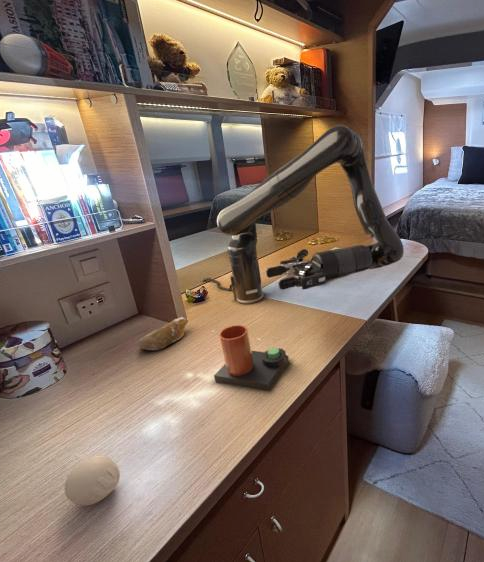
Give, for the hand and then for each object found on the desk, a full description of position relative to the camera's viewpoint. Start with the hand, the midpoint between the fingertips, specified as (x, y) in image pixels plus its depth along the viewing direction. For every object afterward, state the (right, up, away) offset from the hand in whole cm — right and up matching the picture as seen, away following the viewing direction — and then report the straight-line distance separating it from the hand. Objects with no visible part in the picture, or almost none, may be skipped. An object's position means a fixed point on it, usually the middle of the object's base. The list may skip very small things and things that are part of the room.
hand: (272, 279), depth 78 cm
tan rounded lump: (-23, -36, -23) cm, 48 cm away
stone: (-35, -18, +19) cm, 44 cm away
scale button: (-1, -19, +5) cm, 20 cm away
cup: (-8, -21, +3) cm, 23 cm away
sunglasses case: (+2, 0, +57) cm, 57 cm away
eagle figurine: (-3, +7, +72) cm, 73 cm away
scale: (-6, -23, +5) cm, 24 cm away
